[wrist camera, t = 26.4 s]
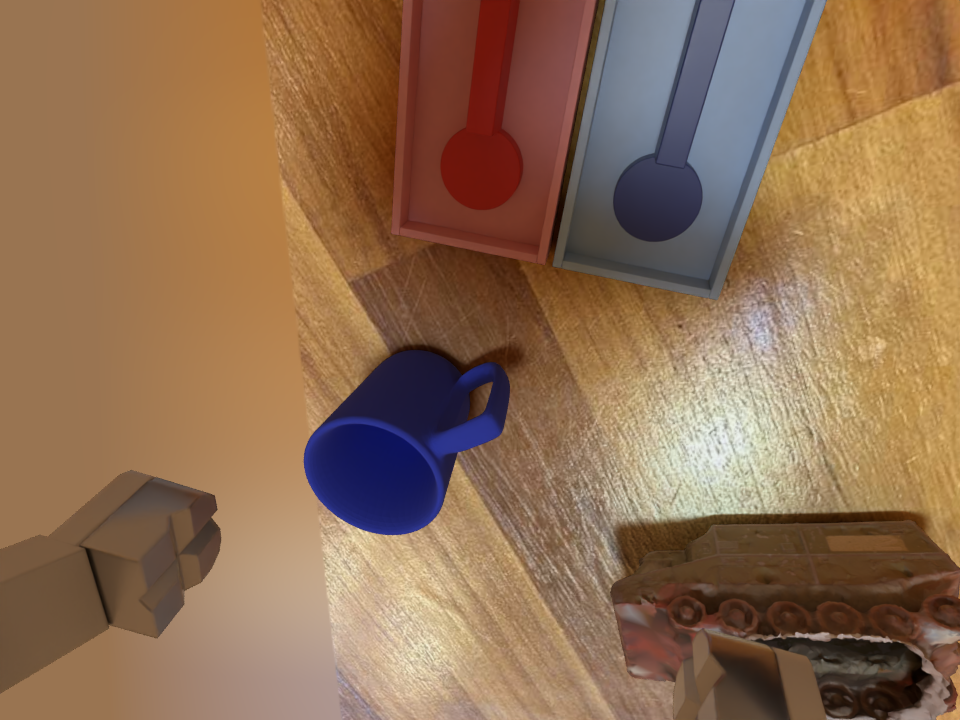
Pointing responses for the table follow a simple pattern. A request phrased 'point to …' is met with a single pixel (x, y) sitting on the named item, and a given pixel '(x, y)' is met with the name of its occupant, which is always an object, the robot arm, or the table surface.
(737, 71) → the blue tray
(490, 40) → the red spoon
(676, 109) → the blue spoon
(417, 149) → the pink tray
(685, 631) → the decorative box
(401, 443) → the mug
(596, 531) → the table surface
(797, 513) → the table surface
